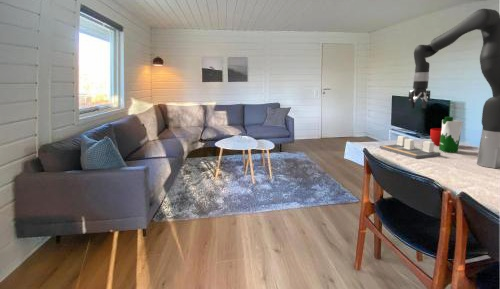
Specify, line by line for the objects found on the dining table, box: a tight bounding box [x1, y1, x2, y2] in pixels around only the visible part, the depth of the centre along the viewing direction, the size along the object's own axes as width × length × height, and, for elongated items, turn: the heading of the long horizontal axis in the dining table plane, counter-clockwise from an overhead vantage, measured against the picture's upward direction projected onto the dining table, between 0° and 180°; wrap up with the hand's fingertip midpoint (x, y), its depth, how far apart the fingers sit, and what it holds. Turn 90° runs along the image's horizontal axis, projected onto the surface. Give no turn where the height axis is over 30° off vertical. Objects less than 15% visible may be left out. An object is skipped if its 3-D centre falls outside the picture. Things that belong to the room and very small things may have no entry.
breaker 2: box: [422, 140, 435, 153], centre depth 162 cm, size 4×4×6 cm
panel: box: [379, 143, 442, 160], centre depth 170 cm, size 26×18×2 cm
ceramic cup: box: [429, 127, 442, 147], centre depth 185 cm, size 13×17×10 cm
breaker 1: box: [395, 135, 408, 146], centre depth 179 cm, size 4×4×6 cm
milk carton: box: [438, 116, 464, 154], centre depth 169 cm, size 9×9×20 cm
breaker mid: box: [403, 138, 415, 150], centre depth 169 cm, size 4×4×6 cm
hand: (418, 108), depth 174 cm, fingers open, 8 cm apart
